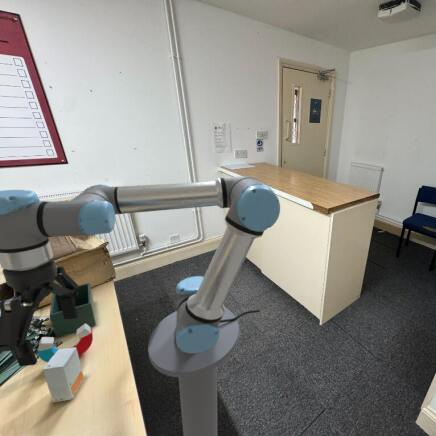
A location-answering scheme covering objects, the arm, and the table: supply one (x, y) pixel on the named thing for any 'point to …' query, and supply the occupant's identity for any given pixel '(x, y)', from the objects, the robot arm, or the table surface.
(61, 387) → the cosmetic box
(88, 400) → the table surface
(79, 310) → the bin
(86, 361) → the table surface
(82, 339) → the magnet
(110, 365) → the table surface
